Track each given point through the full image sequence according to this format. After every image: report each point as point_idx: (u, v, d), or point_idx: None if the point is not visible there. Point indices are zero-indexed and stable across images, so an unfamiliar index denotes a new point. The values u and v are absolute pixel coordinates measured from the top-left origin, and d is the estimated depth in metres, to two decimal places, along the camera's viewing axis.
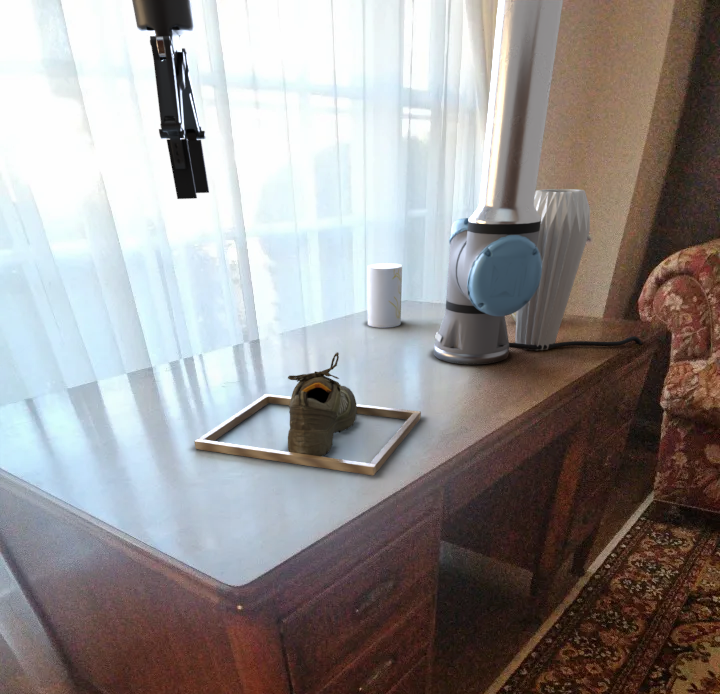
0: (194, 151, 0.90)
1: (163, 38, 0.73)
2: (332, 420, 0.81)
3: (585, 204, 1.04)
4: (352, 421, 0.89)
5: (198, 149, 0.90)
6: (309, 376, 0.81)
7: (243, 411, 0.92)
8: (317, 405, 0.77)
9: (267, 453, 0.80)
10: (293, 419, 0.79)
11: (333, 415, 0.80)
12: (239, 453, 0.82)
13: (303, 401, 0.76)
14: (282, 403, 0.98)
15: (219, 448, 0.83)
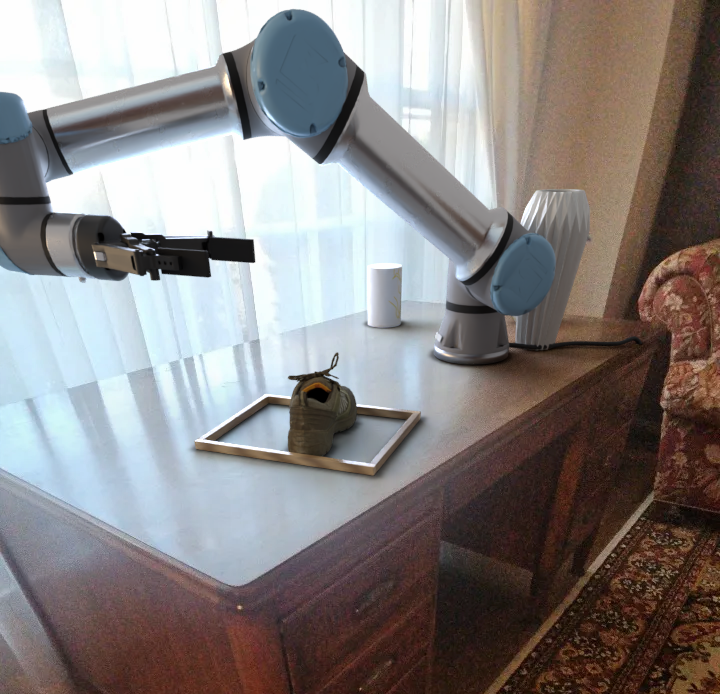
0: (218, 248, 0.81)
1: (93, 251, 0.73)
2: (332, 420, 0.81)
3: (585, 204, 1.04)
4: (352, 421, 0.89)
5: (216, 242, 0.81)
6: (309, 376, 0.81)
7: (243, 411, 0.92)
8: (317, 405, 0.77)
9: (267, 453, 0.80)
10: (293, 419, 0.79)
11: (333, 415, 0.80)
12: (239, 453, 0.82)
13: (303, 401, 0.76)
14: (282, 403, 0.98)
15: (219, 448, 0.83)
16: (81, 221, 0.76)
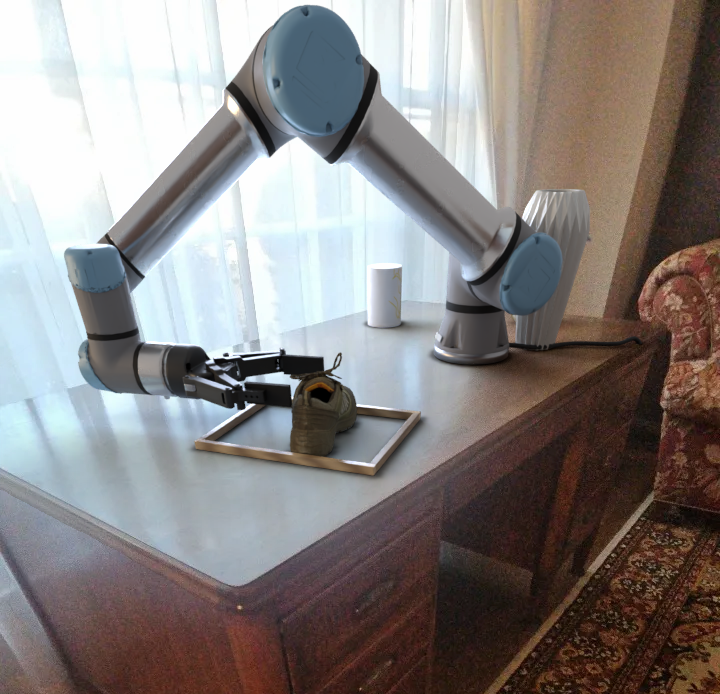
0: (291, 364, 0.88)
1: (184, 383, 0.81)
2: (334, 420, 0.81)
3: (585, 204, 1.04)
4: (353, 421, 0.89)
5: (289, 359, 0.88)
6: (311, 376, 0.81)
7: (243, 411, 0.92)
8: (320, 405, 0.77)
9: (267, 453, 0.80)
10: (296, 419, 0.79)
11: (335, 415, 0.80)
12: (239, 453, 0.82)
13: (307, 401, 0.76)
14: None
15: (219, 448, 0.83)
16: (170, 352, 0.83)
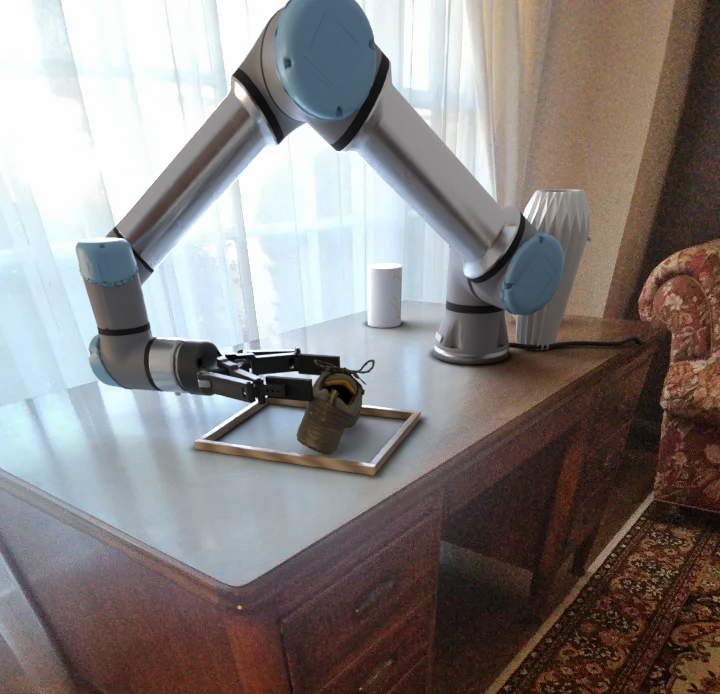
0: (306, 363, 0.86)
1: (198, 379, 0.79)
2: (348, 422, 0.81)
3: (585, 204, 1.04)
4: (356, 421, 0.89)
5: (304, 359, 0.85)
6: (337, 369, 0.80)
7: (243, 411, 0.92)
8: (343, 407, 0.77)
9: (267, 453, 0.80)
10: (314, 411, 0.77)
11: (350, 418, 0.80)
12: (239, 453, 0.82)
13: (332, 400, 0.76)
14: (282, 403, 0.98)
15: (219, 448, 0.83)
16: (181, 348, 0.82)
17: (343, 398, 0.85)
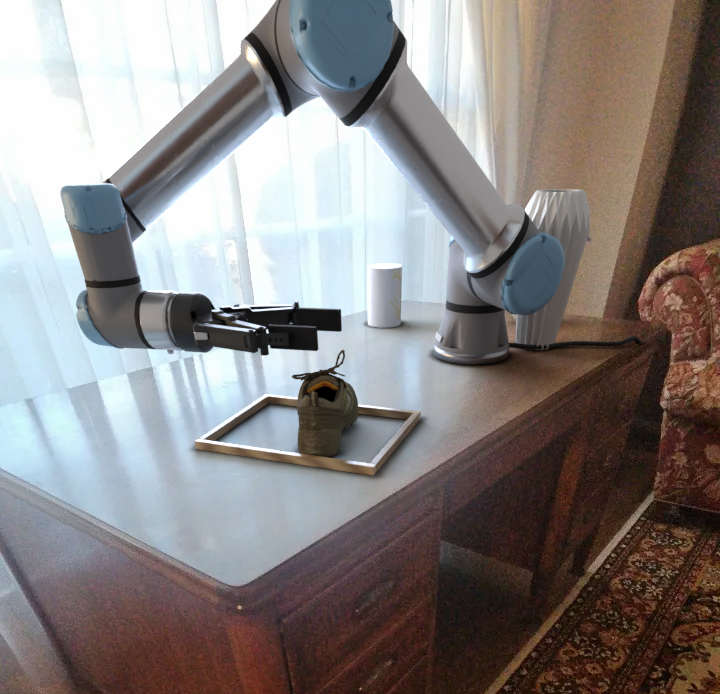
0: (305, 318, 0.81)
1: (194, 331, 0.76)
2: (341, 418, 0.81)
3: (585, 204, 1.04)
4: (356, 417, 0.89)
5: (303, 313, 0.81)
6: (314, 375, 0.81)
7: (243, 411, 0.92)
8: (327, 405, 0.77)
9: (267, 453, 0.80)
10: (303, 420, 0.78)
11: (341, 413, 0.80)
12: (239, 453, 0.82)
13: (314, 401, 0.76)
14: (282, 403, 0.98)
15: (219, 448, 0.83)
16: (174, 300, 0.78)
17: (334, 400, 0.86)
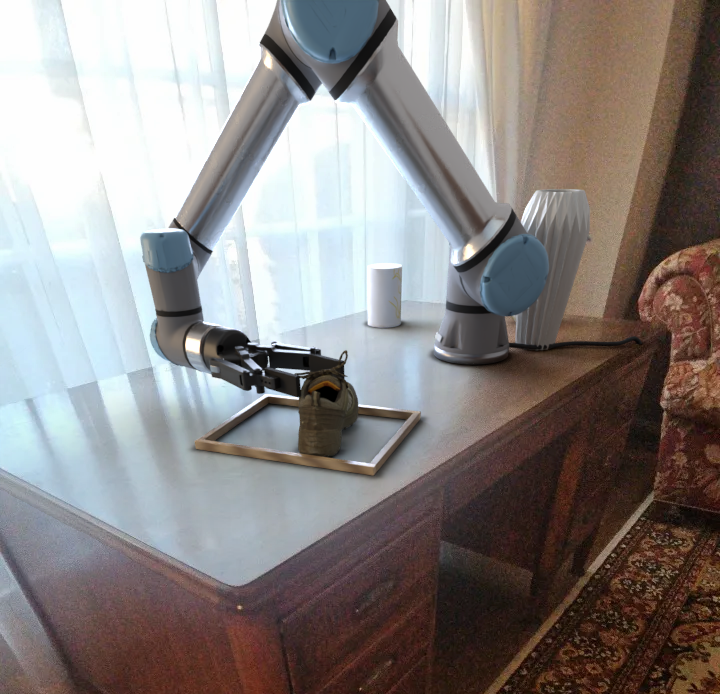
0: (315, 364, 0.86)
1: (210, 365, 0.85)
2: (342, 419, 0.81)
3: (585, 204, 1.04)
4: (356, 417, 0.89)
5: (314, 359, 0.85)
6: (316, 374, 0.81)
7: (243, 411, 0.92)
8: (329, 405, 0.77)
9: (267, 453, 0.80)
10: (304, 419, 0.78)
11: (343, 414, 0.80)
12: (239, 453, 0.82)
13: (316, 401, 0.76)
14: (282, 403, 0.98)
15: (219, 448, 0.83)
16: (210, 334, 0.89)
17: (334, 400, 0.86)
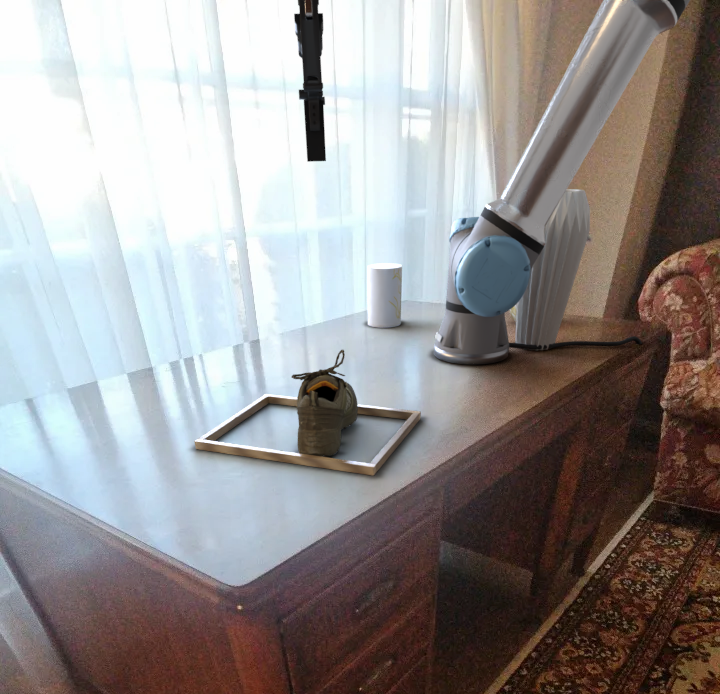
0: None
1: None
2: (341, 418, 0.81)
3: (585, 204, 1.04)
4: (355, 417, 0.89)
5: None
6: (314, 374, 0.81)
7: (243, 411, 0.92)
8: (327, 404, 0.77)
9: (267, 453, 0.80)
10: (303, 420, 0.78)
11: (341, 413, 0.80)
12: (239, 453, 0.82)
13: (314, 401, 0.76)
14: (282, 403, 0.98)
15: (219, 448, 0.83)
16: None
17: (333, 400, 0.86)
